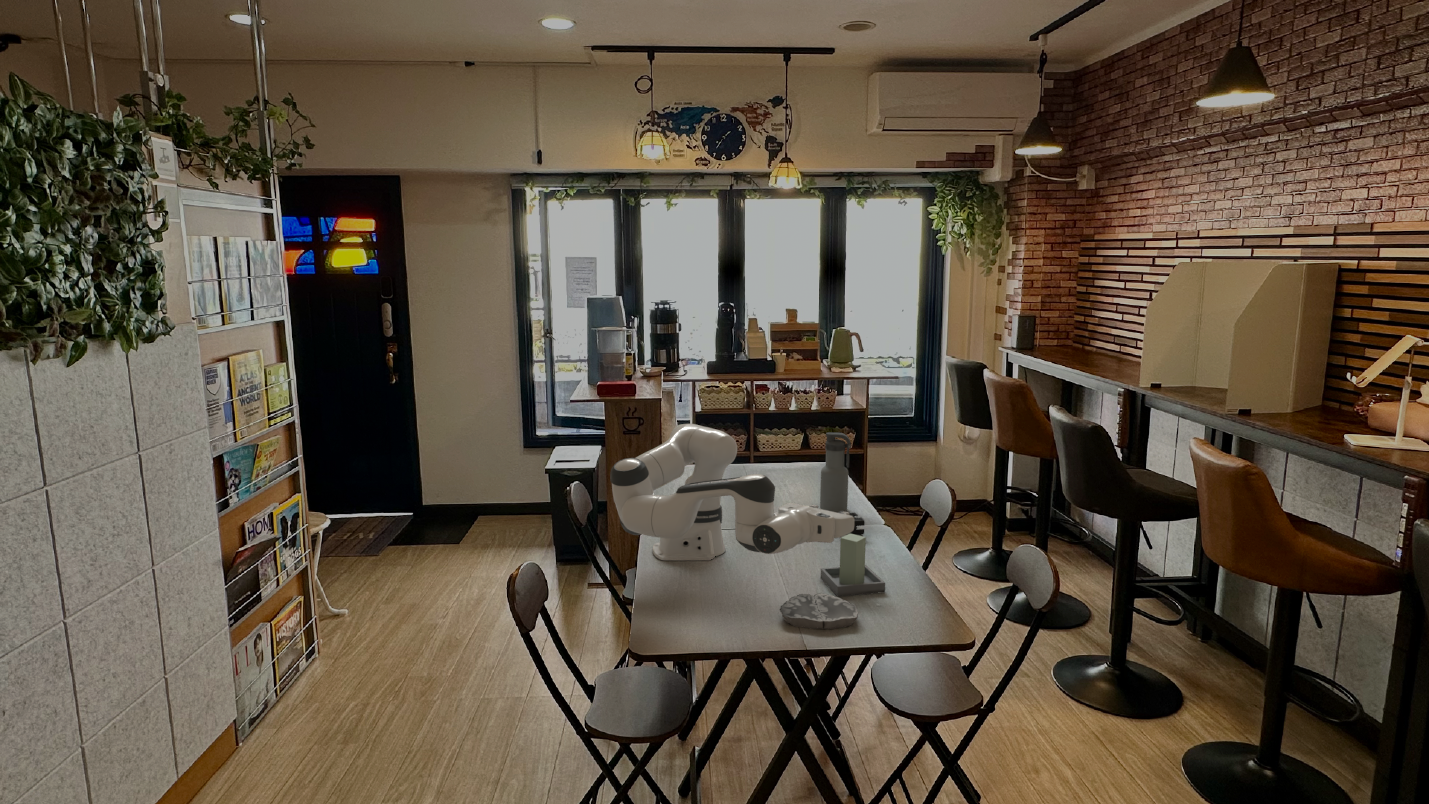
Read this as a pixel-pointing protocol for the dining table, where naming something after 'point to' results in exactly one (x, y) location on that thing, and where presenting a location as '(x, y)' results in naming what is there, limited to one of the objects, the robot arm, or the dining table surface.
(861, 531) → the end cap
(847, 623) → the brain slice
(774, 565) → the dining table surface
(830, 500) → the water bottle
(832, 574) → the grey tray
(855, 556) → the sage block
